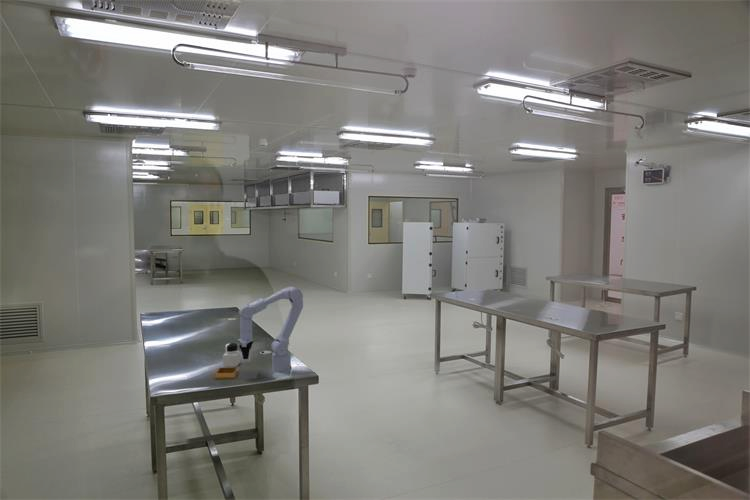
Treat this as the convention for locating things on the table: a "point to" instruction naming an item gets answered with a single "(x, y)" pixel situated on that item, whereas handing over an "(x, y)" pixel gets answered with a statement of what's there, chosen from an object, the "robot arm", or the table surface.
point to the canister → (248, 357)
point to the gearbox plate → (234, 374)
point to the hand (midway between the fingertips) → (246, 357)
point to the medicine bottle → (231, 355)
